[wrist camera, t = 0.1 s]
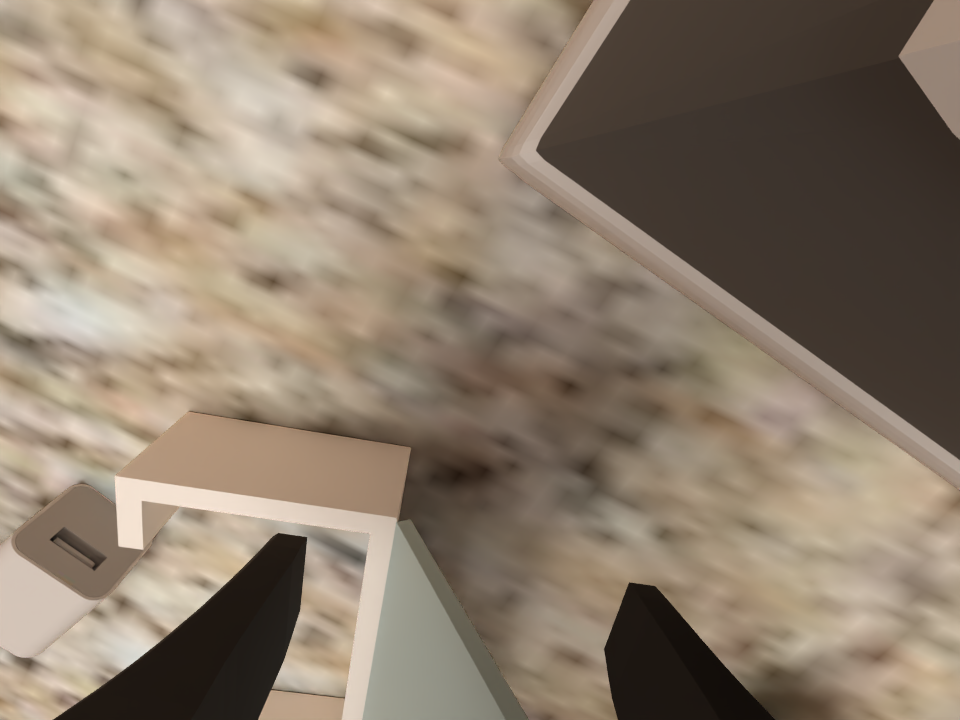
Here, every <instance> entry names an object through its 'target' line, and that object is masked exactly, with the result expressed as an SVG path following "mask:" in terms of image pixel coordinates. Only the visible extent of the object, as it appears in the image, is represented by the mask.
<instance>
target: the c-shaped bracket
mask: <svg viewBox="0 0 960 720" xmlns="http://www.w3.org/2000/svg"><path fill="white" fill-rule="evenodd" d="M410 452H411V447H405V446H399V445H393V444H387V443H381V442H374V441H368V440H362V439H356V438H350V437H343V436H337V435H331V434H325V433H319V432H312V431H306V430H300V429H294V428H288V427H281V426H275V425H269V424H263V423H256V422H250V421H244V420H238V419H232V418H225V417H219V416H213V415H207V414H201V413H194V412H187V413H186V414H185V415H184V416H183V417H182V418H180V419H179V420H178V421H177V422H176V423H175V424H174V425H172V426H171V427H170V428H169V429H168V430H167V431H166V432H164V433H163V434H162V435H161V436H160V437H159V438H158V439H156V440H155V441H154V442H153V443H152V444H151V445H150V446H148V447H147V448H146V449H145V450H144V451H143V452H141V453H140V454H139V455H138V456H137V457H136V458H135V459H133V460H132V461H131V462H130V463H129V464H128V465H127V466H125V467H124V468H123V469H122V470H121V471H120V472H119V473H117V474H116V475H115V493H116V511H117V529H118V546H119V547H126V548H134V549H141V550H143V549H144V548H145V547H146V546H147V545H148V544H149V542H150V541H151V540H152V539H153V538H154V537H155V535H156V534H157V533H158V532H159V531H160V529H161V528H162V527H163V526H164V525H165V524H166V522H167V521H168V520H169V519H170V518H171V516H172V515H173V514H174V513H175V512H176V511H177V509H178V508H179V507H180V506H182V507H189V508H196V509H202V510H209V511H216V512H223V513H230V514H237V515H244V516H251V517H258V518H265V519H271V520H278V521H285V522H292V523H299V524H306V525H313V526H320V527H327V528H333V529H340V530H347V531H354V532H361V533H368V534H370V538H369V545H368V551H367V558H366V564H365V571H364V577H363V584H362V591H361V597H360V604H359V610H358V617H357V623H356V630H355V636H354V643H353V649H352V656H351V663H350V669H349V676H348V682H347V689H346V695H345V698H336V697H327V696H319V695H310V694H301V693H293V692H284V691H276V690H271V691H270V693H269V696H268V698H267V700H266V703H265V705H264V707H263V709H262V712H261V714H260V716H259V719H258V720H362V718H363V712H364V707H365V701H366V695H367V689H368V683H369V678H370V672H371V666H372V660H373V654H374V649H375V643H376V637H377V631H378V625H379V620H380V614H381V608H382V602H383V596H384V591H385V585H386V579H387V573H388V567H389V562H390V556H391V550H392V544H393V538H394V533H395V527H396V522H398V521H399V515H400V510H401V504H402V498H403V492H404V487H405V481H406V475H407V469H408V464H409V458H410Z"/></svg>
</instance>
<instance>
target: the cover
mask: <svg viewBox="0 0 960 720" xmlns="http://www.w3.org/2000/svg"><path fill="white" fill-rule="evenodd" d="M362 720H529V719H528V718H527V716H526V714H525V713H524V711H523V709H522V708H521V706H520V704H519V702H518V701H517V699H516V697H515V696H514V694H513V692H512V691H511V689H510V687H509V686H508V684H507V682H506V680H505V679H504V677H503V675H502V674H501V672H500V670H499V669H498V667H497V665H496V663H495V662H494V660H493V658H492V657H491V655H490V653H489V652H488V650H487V648H486V647H485V645H484V643H483V641H482V640H481V638H480V636H479V635H478V633H477V631H476V630H475V628H474V626H473V624H472V623H471V621H470V619H469V618H468V616H467V614H466V613H465V611H464V609H463V608H462V606H461V604H460V602H459V601H458V599H457V597H456V596H455V594H454V592H453V591H452V589H451V587H450V585H449V584H448V582H447V580H446V579H445V577H444V575H443V574H442V572H441V570H440V569H439V567H438V565H437V563H436V562H435V560H434V558H433V557H432V555H431V553H430V552H429V550H428V548H427V546H426V545H425V543H424V541H423V540H422V538H421V536H420V535H419V533H418V531H417V530H416V528H415V526H414V524H413V523H412V521H411V519H409V520H403V521H398V522H396V527H395V533H394V538H393V544H392V550H391V556H390V562H389V567H388V573H387V579H386V585H385V591H384V596H383V602H382V608H381V614H380V620H379V625H378V631H377V637H376V643H375V649H374V654H373V660H372V666H371V672H370V678H369V683H368V689H367V695H366V701H365V707H364V712H363V718H362Z"/></svg>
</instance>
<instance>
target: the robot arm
mask: <svg viewBox="0 0 960 720" xmlns="http://www.w3.org/2000/svg"><path fill="white" fill-rule="evenodd" d="M306 544H307V537H302V536H295V535H288V534H281V533H278V534H276V535H275V536H273V537H272V538H271V539H270V540H269V541H268V542H267V543H266V544H265V546H264V547H263V548H262V549H261V550H260V551H259V552H258V553H257V554H256V555H255V556H254V557H253V558H252V559H251V560H250V561H249V562H248V563H247V564H246V565H245V566H244V567H243V568H242V569H241V570H240V571H239V572H238V573H237V574H236V575H235V576H234V577H233V578H232V579H231V580H230V581H229V582H228V583H227V584H225V585H224V586H223V587H222V588H221V589H220V590H219V591H218V592H217V593H216V594H215V595H214V596H212V597H211V598H210V599H209V600H208V601H207V602H206V603H205V604H204V605H203V606H202V607H201V608H199V609H198V610H197V611H196V612H195V613H194V614H193V615H191V616H190V617H189V618H188V619H187V620H185V621H184V622H183V623H182V624H181V625H179V626H178V627H177V628H176V629H175V630H174V631H172V632H171V633H170V634H169V635H168V636H166V637H165V638H164V639H163V640H162V641H161V642H159V643H158V644H157V645H156V646H154V647H153V648H152V649H150V650H149V651H148V652H147V653H145V654H144V655H143V656H142V657H140V658H139V659H138V660H136V661H135V662H134V663H133V664H131V665H130V666H129V667H127V668H126V669H125V670H123V671H122V672H120V673H119V674H118V675H116V676H115V677H114V678H112V679H111V680H110V681H108V682H107V683H106V684H104V685H103V686H101V687H100V688H99V689H97V690H96V691H94V692H93V693H91V694H90V695H88V696H87V697H86V698H84V699H83V700H81V701H80V702H78V703H77V704H75V705H74V706H72V707H71V708H69V709H68V710H67V711H65V712H64V713H62V714H61V715H59V716H58V717H56V718H55V719H53V720H258V719H259V716H260V714H261V712H262V709H263V707H264V705H265V703H266V700H267V698H268V696H269V693H270V691H271V689H272V687H273V684H274V682H275V680H276V677H277V675H278V673H279V670H280V668H281V666H282V663H283V661H284V658H285V655H286V652H287V649H288V646H289V643H290V640H291V637H292V634H293V631H294V628H295V624H296V621H297V618H298V615H299V612H300V605H301V595H302V585H303V575H304V565H305V554H306ZM604 651H605V657H606V664H607V671H608V677H609V683H610V688H611V694H612V699H613V703H614V707H615V710H616V714H617V718H618V720H775V719H774V718H773V717H772V716H771V715H770V714H769V713H768V712H767V711H766V710H765V708H764V707H763V706H762V705H761V704H760V703H759V702H758V701H757V700H756V699H755V698H754V697H753V696H752V695H751V694H750V693H749V692H748V691H747V690H746V689H745V688H744V686H743V685H742V684H741V683H740V682H739V681H738V680H737V679H736V678H735V677H734V676H733V675H732V673H731V672H730V671H729V670H728V669H727V668H726V667H725V666H724V665H723V663H722V662H721V661H720V660H719V659H718V658H717V657H716V655H715V654H714V653H713V652H712V651H711V650H710V649H709V648H708V646H707V645H706V644H705V643H704V642H703V641H702V639H701V638H700V637H699V636H698V635H697V634H696V632H695V631H694V630H693V629H692V628H691V627H690V626H689V624H688V623H687V622H686V621H685V620H684V619H683V617H682V616H681V615H680V614H679V613H678V612H677V610H676V609H675V608H674V607H673V606H672V605H671V603H670V602H669V601H668V600H667V599H666V598H665V597H664V595H663V594H662V593H661V592H660V591H659V590H658V589H657V588H656V587H655V586H650V585H643V584H636V583H629V584H628V587H627V590H626V592H625V595H624V598H623V600H622V603H621V606H620V608H619V611H618V614H617V616H616V619H615V622H614V624H613V627H612V630H611V632H610V635H609V638H608V640H607V643H606V646H605V648H604Z"/></svg>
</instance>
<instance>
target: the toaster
mask: <svg viewBox="0 0 960 720" xmlns="http://www.w3.org/2000/svg"><path fill="white" fill-rule="evenodd" d="M498 160H499V161H500V162H501V163H502V164H503V165H504V166H505V167H506V168H508V169H509V170H511V171H512V172H513V173H515V174H516V175H517V176H518V177H519V178H520V179H521V180H523V181H524V182H525V183H527V184H528V185H530V186H531V187H533V188H534V189H535V190H537V191H538V192H540V193H541V194H542V195H544V196H545V197H547V198H548V199H549V200H551V201H552V202H554V203H555V204H557V205H558V206H559V207H561V208H562V209H564V210H565V211H566V212H568V213H569V214H571V215H572V216H573V217H575V218H576V219H578V220H579V221H581V222H582V223H583V224H585V225H586V226H588V227H589V228H590V229H592V230H593V231H595V232H596V233H597V234H599V235H600V236H602V237H603V238H605V239H606V240H607V241H609V242H610V243H612V244H613V245H614V246H616V247H617V248H619V249H620V250H621V251H623V252H624V253H626V254H627V255H629V256H630V257H631V258H633V259H634V260H636V261H637V262H638V263H640V264H641V265H643V266H644V267H645V268H647V269H648V270H650V271H651V272H653V273H654V274H655V275H657V276H658V277H660V278H661V279H662V280H664V281H665V282H667V283H668V284H669V285H671V286H672V287H674V288H675V289H677V290H678V291H679V292H681V293H682V294H684V295H685V296H686V297H688V298H689V299H691V300H692V301H693V302H695V303H696V304H698V305H699V306H700V307H702V308H703V309H705V310H706V311H708V312H709V313H710V314H712V315H713V316H715V317H716V318H717V319H719V320H720V321H722V322H723V323H724V324H726V325H727V326H729V327H730V328H732V329H733V330H734V331H736V332H737V333H739V334H740V335H741V336H743V337H744V338H746V339H747V340H748V341H750V342H751V343H753V344H754V345H756V346H757V347H758V348H760V349H761V350H763V351H764V352H765V353H767V354H768V355H770V356H771V357H772V358H774V359H775V360H777V361H778V362H780V363H781V364H782V365H784V366H785V367H787V368H788V369H789V370H791V371H792V372H794V373H795V374H796V375H798V376H799V377H801V378H802V379H804V380H805V381H806V382H808V383H809V384H811V385H812V386H813V387H815V388H816V389H818V390H819V391H820V392H822V393H823V394H825V395H826V396H827V397H829V398H830V399H832V400H833V401H834V402H836V403H837V404H839V405H840V406H842V407H843V408H844V409H846V410H847V411H849V412H850V413H851V414H853V415H854V416H856V417H857V418H858V419H860V420H861V421H863V422H864V423H865V424H867V425H868V426H870V427H871V428H872V429H874V430H875V431H877V432H878V433H879V434H881V435H882V436H884V437H885V438H887V439H888V440H889V441H891V442H892V443H894V444H895V445H897V446H898V447H899V448H901V449H902V450H904V451H905V452H906V453H908V454H909V455H911V456H912V457H914V458H915V459H916V460H918V461H919V462H921V463H922V464H924V465H925V466H926V467H928V468H929V469H931V470H932V471H933V472H935V473H936V474H938V475H939V476H940V477H942V478H943V479H945V480H946V481H948V482H949V483H950V484H952V485H953V486H955V487H956V488H957V489H959V490H960V0H593V2H592V4H591V5H590V7H589V9H588V10H587V12H586V14H585V15H584V17H583V18H582V20H581V22H580V23H579V25H578V27H577V28H576V30H575V31H574V33H573V35H572V36H571V38H570V40H569V41H568V43H567V44H566V46H565V48H564V49H563V51H562V53H561V54H560V56H559V58H558V59H557V61H556V62H555V64H554V66H553V67H552V69H551V71H550V72H549V74H548V75H547V77H546V79H545V80H544V82H543V84H542V85H541V87H540V89H539V90H538V92H537V93H536V95H535V97H534V98H533V100H532V102H531V103H530V105H529V106H528V108H527V110H526V111H525V113H524V115H523V116H522V118H521V120H520V121H519V123H518V124H517V126H516V128H515V129H514V131H513V133H512V134H511V136H510V137H509V139H508V141H507V142H506V144H505V146H504V147H503V149H502V151H501V153H500V156H499V158H498Z"/></svg>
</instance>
